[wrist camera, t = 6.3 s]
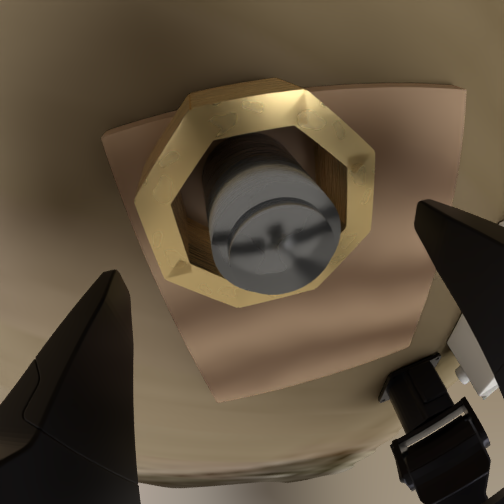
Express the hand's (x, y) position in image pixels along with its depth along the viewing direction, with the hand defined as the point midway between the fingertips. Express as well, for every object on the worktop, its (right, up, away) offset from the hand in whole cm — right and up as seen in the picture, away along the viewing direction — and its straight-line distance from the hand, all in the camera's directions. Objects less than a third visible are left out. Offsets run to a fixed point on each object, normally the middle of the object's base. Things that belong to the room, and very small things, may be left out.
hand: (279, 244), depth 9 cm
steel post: (-1, +3, +4) cm, 6 cm away
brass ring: (-1, +3, +4) cm, 4 cm away
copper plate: (+3, -1, +9) cm, 9 cm away
